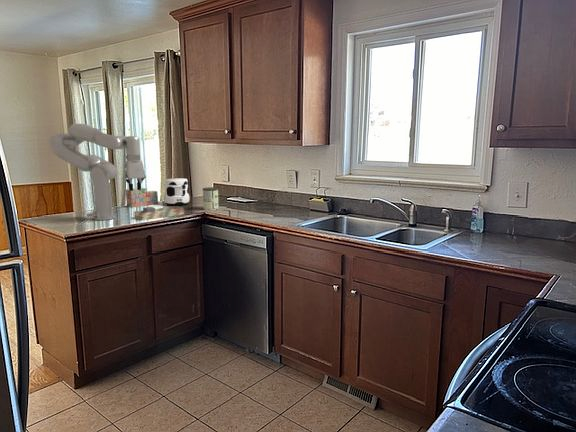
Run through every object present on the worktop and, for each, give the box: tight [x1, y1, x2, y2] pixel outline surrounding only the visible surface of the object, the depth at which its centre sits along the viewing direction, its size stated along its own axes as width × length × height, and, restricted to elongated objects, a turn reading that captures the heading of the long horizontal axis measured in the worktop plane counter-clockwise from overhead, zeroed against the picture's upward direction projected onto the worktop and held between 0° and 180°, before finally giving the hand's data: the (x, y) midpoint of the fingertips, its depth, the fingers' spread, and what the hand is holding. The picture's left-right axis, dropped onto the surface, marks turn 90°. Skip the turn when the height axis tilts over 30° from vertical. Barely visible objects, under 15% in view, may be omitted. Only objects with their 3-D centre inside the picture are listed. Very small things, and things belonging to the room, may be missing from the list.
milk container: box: [163, 177, 190, 206], centre depth 310 cm, size 17×17×18 cm
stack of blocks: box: [125, 187, 159, 209], centre depth 305 cm, size 21×6×12 cm, turn 143°
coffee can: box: [202, 186, 220, 211], centre depth 291 cm, size 10×10×14 cm
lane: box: [133, 205, 185, 221], centre depth 265 cm, size 28×10×4 cm, turn 136°
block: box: [142, 206, 156, 213], centre depth 260 cm, size 5×5×4 cm
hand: (135, 189), depth 251 cm, fingers open, 4 cm apart
